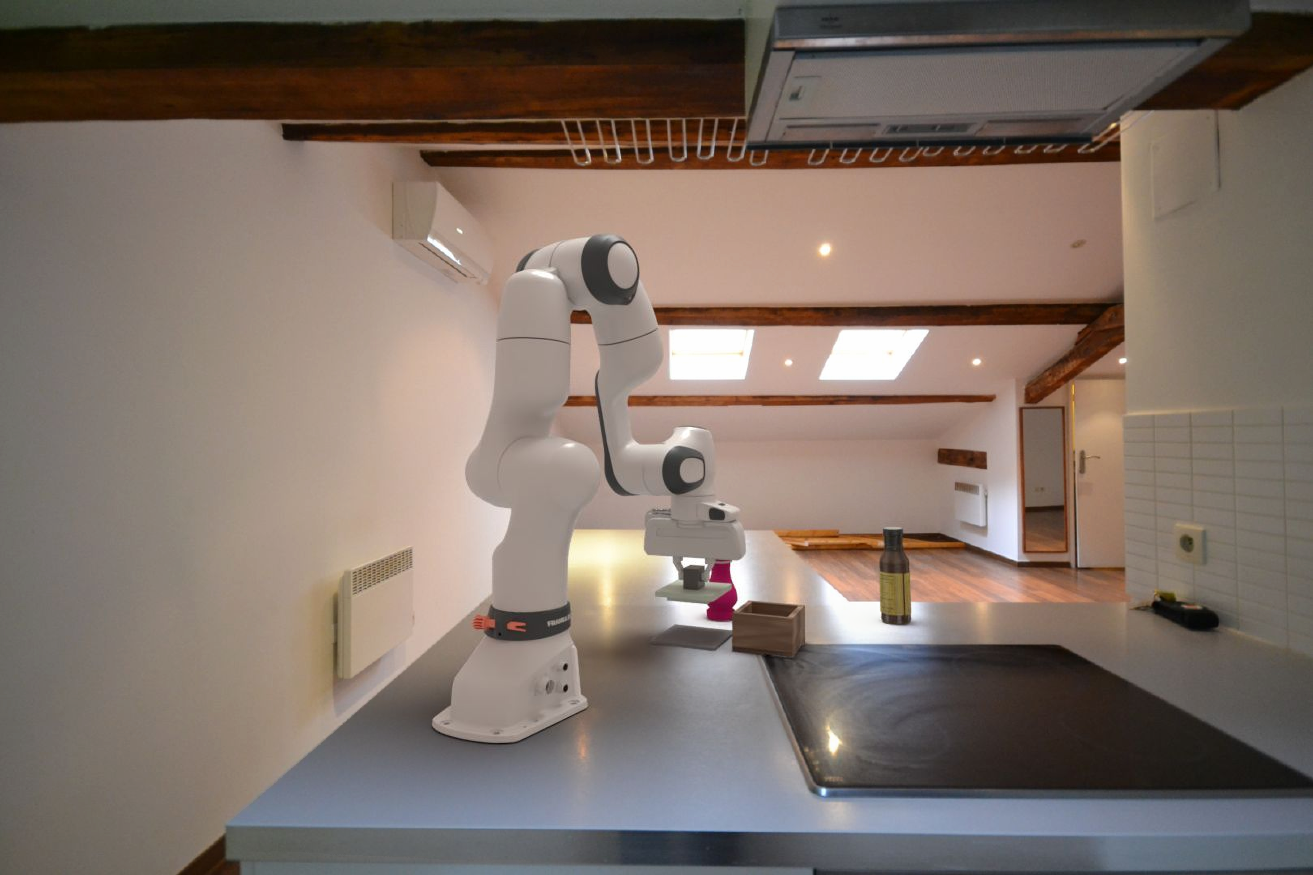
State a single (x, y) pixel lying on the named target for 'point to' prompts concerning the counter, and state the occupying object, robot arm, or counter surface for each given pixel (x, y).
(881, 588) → the sauce bottle
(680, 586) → the lid
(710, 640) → the mat
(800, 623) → the box
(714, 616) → the pepper mill
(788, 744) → the counter surface
